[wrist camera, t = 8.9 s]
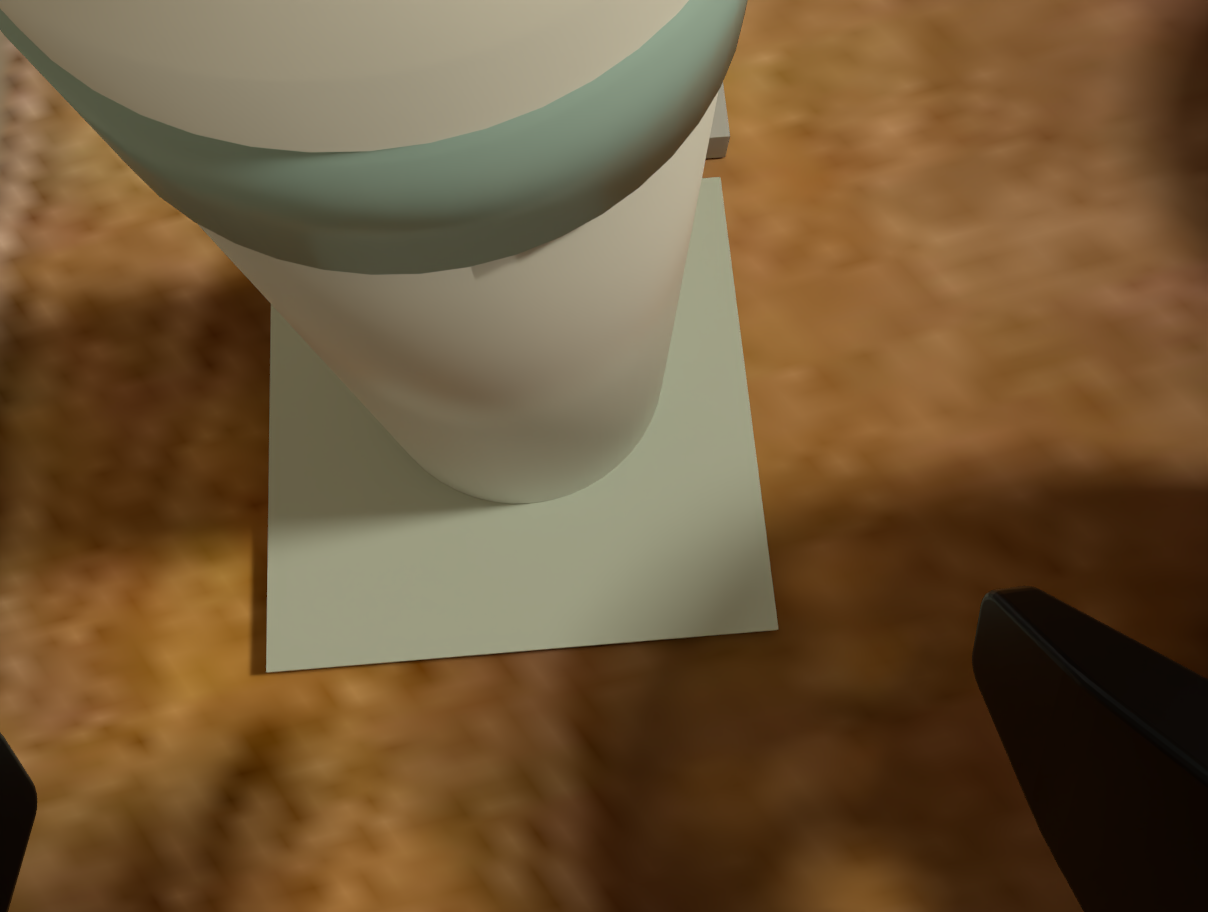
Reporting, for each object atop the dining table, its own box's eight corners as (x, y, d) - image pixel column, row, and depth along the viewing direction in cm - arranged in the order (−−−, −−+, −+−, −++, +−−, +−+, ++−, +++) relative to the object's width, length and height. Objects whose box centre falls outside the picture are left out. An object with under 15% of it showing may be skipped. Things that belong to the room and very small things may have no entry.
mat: (774, 630, 17) (778, 629, 17) (273, 672, 17) (266, 672, 17) (718, 186, 20) (720, 177, 19) (278, 217, 20) (271, 208, 19)
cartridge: (683, 495, 18) (935, -92, 4) (377, 521, 18) (-411, 5, 4) (653, 220, 19) (765, -885, 6) (371, 242, 19) (-216, -827, 5)
